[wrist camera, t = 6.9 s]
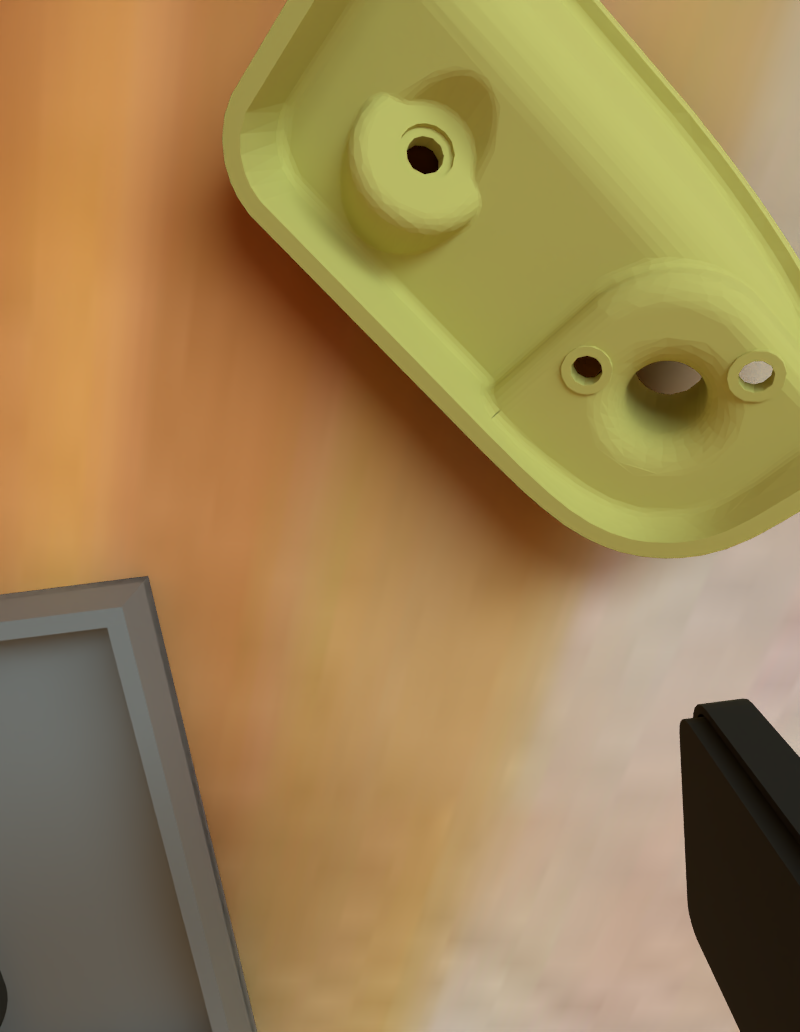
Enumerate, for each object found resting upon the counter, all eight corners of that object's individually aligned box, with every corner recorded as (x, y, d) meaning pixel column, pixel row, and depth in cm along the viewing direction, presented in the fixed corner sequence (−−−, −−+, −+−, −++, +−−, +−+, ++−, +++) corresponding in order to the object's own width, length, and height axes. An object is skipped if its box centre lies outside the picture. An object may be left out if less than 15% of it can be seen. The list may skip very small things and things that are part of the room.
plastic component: (193, 158, 23) (403, -196, 17) (300, 133, 29) (483, -137, 23) (633, 605, 26) (940, 432, 20) (647, 499, 32) (889, 341, 26)
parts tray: (-164, 615, 30) (-222, 650, 27) (147, 576, 30) (121, 606, 27) (7, 1077, 37) (-25, 1144, 34) (261, 1049, 37) (250, 1114, 34)
